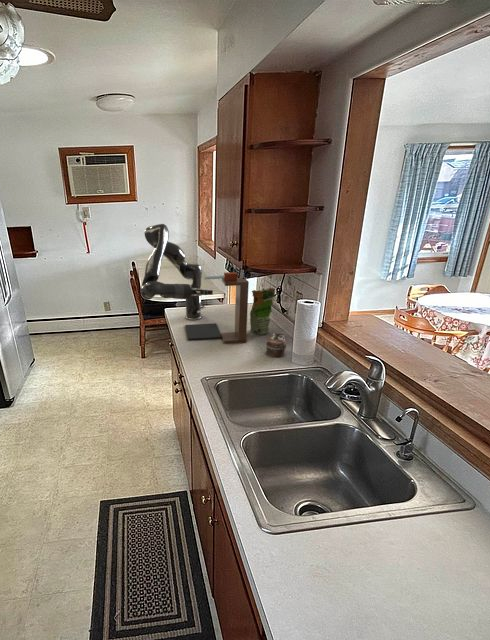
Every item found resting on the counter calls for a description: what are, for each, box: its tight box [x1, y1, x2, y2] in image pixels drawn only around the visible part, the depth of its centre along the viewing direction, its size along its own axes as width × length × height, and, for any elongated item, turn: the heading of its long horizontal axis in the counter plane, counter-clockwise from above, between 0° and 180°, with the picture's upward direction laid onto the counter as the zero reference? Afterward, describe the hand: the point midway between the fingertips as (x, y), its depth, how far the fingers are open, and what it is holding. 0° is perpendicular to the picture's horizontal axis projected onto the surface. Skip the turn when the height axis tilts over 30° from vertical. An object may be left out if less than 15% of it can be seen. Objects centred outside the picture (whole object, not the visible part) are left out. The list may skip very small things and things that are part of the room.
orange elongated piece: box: [204, 271, 238, 281], centre depth 195 cm, size 4×16×3 cm, turn 92°
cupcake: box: [265, 332, 287, 358], centre depth 188 cm, size 10×10×10 cm
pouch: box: [249, 287, 276, 336], centre depth 212 cm, size 11×12×25 cm
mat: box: [185, 322, 222, 341], centre depth 220 cm, size 22×18×1 cm
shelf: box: [220, 276, 250, 344], centre depth 203 cm, size 12×12×32 cm
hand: (207, 292), depth 201 cm, fingers open, 8 cm apart
